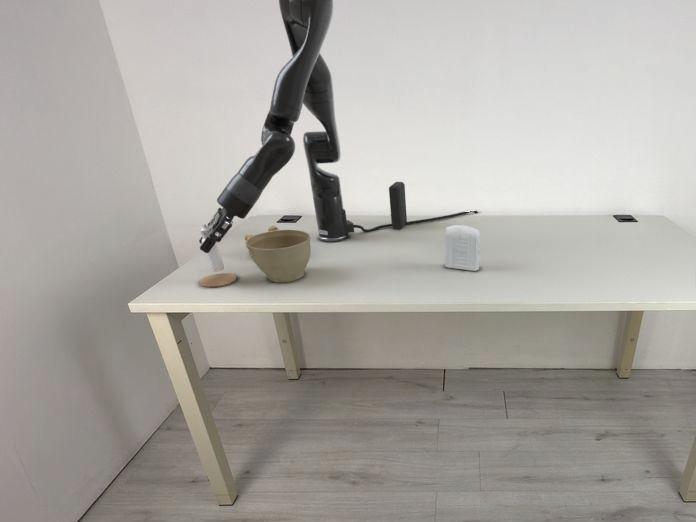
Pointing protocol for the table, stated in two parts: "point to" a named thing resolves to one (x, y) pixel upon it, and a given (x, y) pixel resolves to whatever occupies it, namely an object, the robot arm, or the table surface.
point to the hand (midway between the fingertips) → (203, 247)
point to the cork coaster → (218, 280)
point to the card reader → (397, 205)
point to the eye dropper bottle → (212, 252)
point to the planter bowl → (281, 253)
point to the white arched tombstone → (462, 247)
